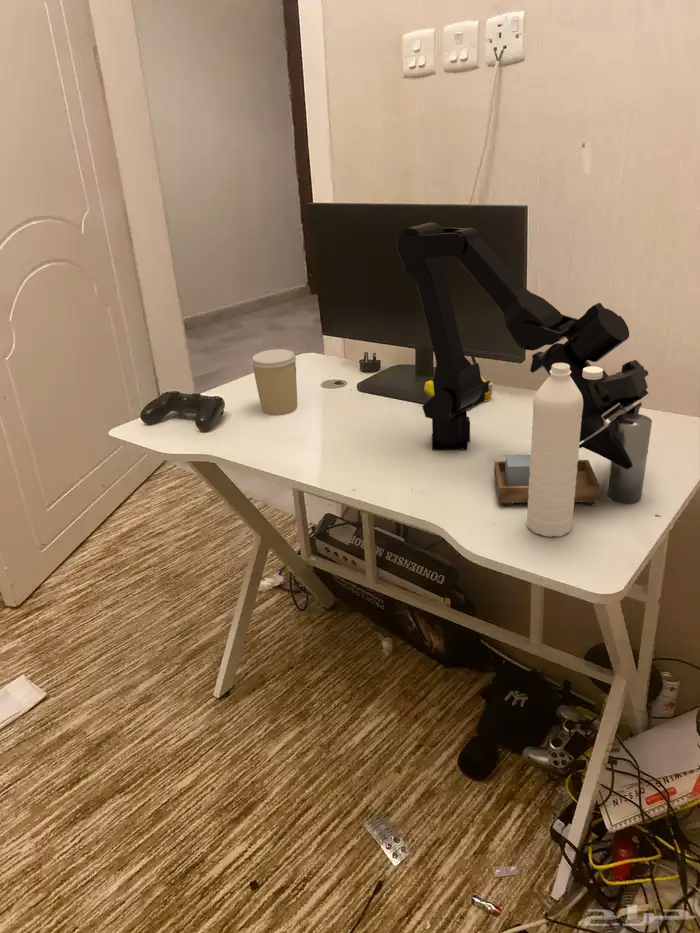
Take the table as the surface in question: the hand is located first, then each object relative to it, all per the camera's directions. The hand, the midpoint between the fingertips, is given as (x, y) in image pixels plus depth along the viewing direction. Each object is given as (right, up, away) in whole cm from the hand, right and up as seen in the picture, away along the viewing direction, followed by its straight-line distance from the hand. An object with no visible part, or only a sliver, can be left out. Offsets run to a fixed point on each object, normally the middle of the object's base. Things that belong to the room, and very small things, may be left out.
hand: (637, 461), depth 105 cm
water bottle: (-13, -10, -3) cm, 17 cm away
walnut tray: (-12, -5, +7) cm, 15 cm away
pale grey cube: (-16, -3, +6) cm, 18 cm away
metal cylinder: (-1, -5, +4) cm, 7 cm away
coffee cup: (-59, +12, +46) cm, 76 cm away
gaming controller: (-20, +13, +43) cm, 49 cm away
